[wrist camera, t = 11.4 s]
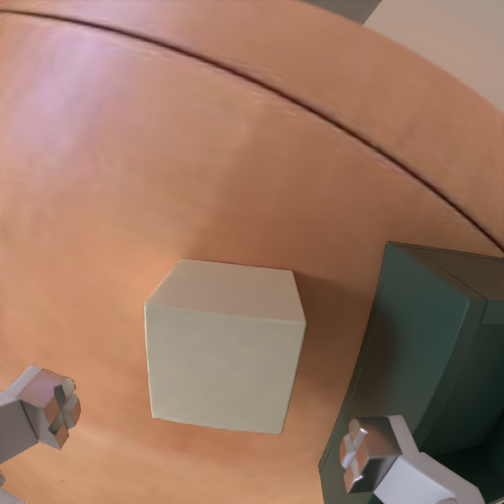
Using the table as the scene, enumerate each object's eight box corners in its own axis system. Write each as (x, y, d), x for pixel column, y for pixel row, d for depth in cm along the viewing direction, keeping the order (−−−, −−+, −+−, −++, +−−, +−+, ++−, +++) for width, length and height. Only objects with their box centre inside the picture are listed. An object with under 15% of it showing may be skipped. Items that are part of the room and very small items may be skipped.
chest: (386, 240, 14) (469, 299, 7) (558, 267, 14) (624, 303, 7) (318, 465, 18) (329, 547, 11) (478, 443, 18) (510, 496, 11)
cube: (180, 257, 14) (143, 303, 9) (292, 269, 14) (307, 323, 9) (178, 351, 16) (151, 418, 11) (277, 363, 16) (282, 435, 11)
